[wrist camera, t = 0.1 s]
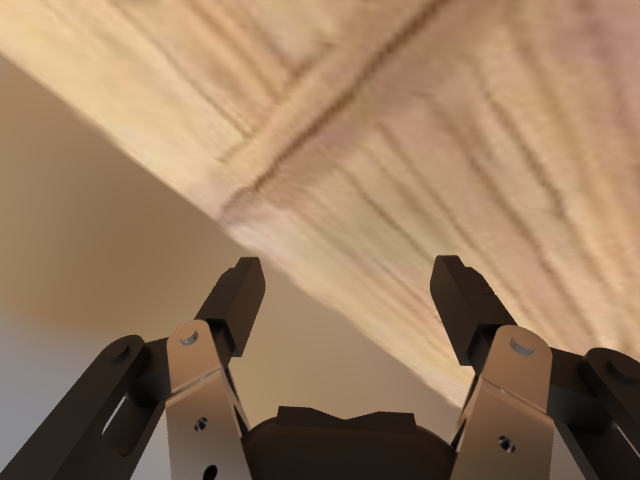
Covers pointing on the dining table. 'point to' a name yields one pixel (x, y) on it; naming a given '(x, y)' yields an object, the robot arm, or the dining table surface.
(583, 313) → the dining table surface
